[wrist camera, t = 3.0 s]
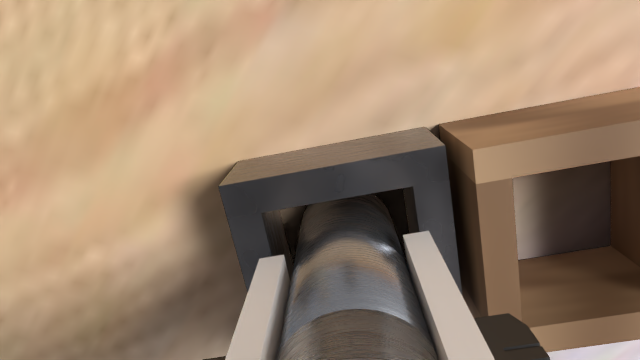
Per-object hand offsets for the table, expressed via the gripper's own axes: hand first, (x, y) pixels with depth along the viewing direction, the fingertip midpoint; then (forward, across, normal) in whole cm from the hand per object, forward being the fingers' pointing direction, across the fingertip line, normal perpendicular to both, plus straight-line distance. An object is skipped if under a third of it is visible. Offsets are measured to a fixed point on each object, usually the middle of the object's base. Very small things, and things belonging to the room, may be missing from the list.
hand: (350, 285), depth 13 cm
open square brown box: (+4, +8, 0) cm, 9 cm away
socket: (+4, 0, 0) cm, 4 cm away
